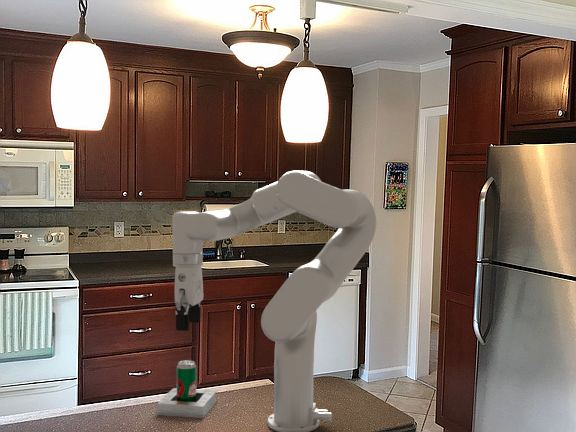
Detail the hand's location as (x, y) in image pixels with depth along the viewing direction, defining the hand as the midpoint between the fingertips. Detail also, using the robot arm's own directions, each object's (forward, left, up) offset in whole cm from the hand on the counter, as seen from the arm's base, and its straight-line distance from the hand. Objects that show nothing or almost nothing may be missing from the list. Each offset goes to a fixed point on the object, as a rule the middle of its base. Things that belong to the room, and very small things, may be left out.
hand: (188, 326), depth 161 cm
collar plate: (0, 0, -22) cm, 22 cm away
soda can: (+1, 0, -22) cm, 22 cm away
